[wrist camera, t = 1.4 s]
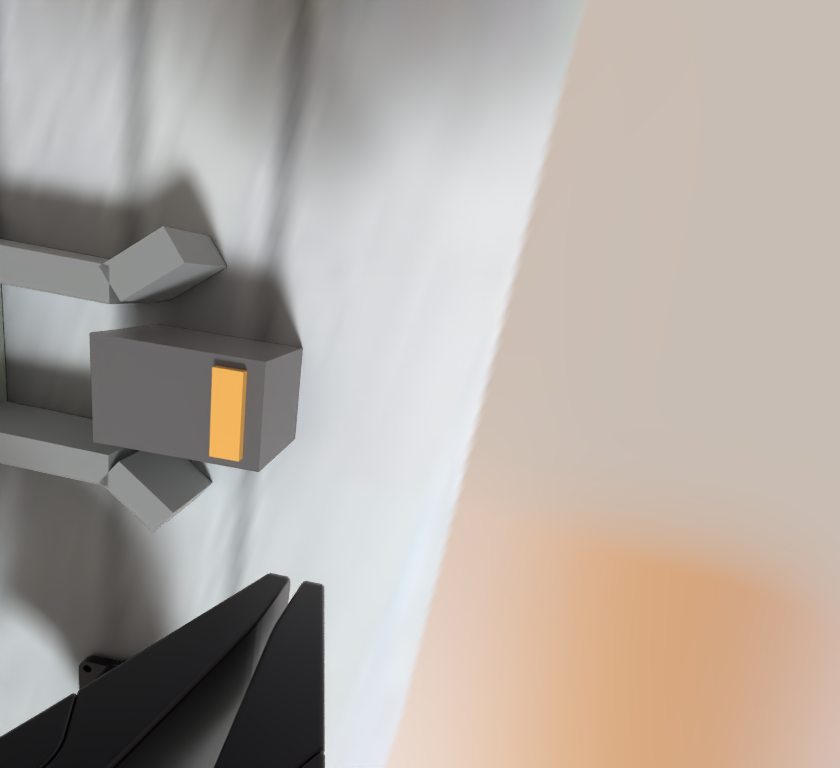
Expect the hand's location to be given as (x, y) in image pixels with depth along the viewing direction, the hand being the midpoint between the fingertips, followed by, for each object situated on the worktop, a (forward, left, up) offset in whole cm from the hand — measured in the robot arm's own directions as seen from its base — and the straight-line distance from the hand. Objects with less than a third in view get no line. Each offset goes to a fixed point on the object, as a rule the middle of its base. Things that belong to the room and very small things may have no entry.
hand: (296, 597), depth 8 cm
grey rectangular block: (0, +8, -12) cm, 15 cm away
